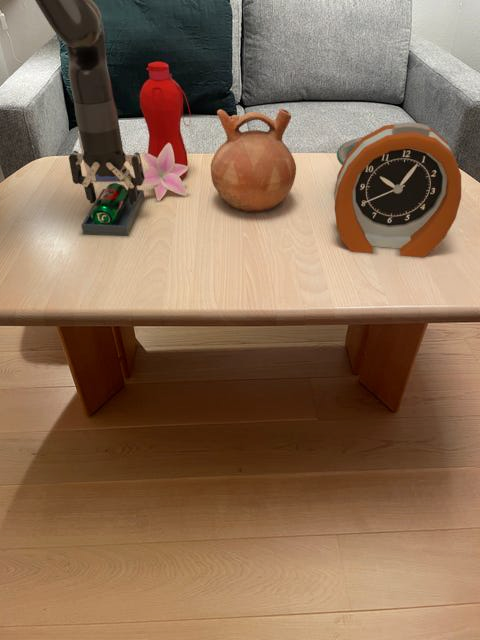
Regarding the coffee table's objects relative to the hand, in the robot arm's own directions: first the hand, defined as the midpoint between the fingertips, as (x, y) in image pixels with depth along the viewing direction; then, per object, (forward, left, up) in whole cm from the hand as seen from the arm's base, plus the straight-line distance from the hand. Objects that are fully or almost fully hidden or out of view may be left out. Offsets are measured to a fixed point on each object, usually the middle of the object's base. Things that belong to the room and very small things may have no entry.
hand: (113, 202), depth 99 cm
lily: (+14, -3, -3) cm, 15 cm away
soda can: (-7, -3, 0) cm, 8 cm away
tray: (0, 0, -3) cm, 3 cm away
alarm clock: (+18, -54, -3) cm, 57 cm away
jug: (+20, -23, -3) cm, 31 cm away
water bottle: (+23, +1, -3) cm, 23 cm away
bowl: (+37, -49, -3) cm, 61 cm away
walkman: (+13, +14, -3) cm, 19 cm away
